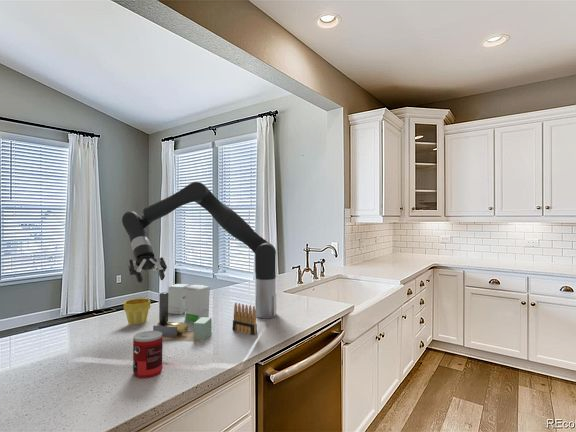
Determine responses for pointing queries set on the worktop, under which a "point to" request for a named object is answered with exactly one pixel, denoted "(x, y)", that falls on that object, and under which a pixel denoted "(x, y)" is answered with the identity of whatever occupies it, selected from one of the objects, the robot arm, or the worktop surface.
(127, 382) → the worktop surface
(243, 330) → the ammunition clip
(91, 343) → the worktop surface
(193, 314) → the skincare box
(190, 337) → the oak board
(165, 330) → the grey bolt guide channel
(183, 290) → the supplement box
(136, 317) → the plant pot
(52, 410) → the worktop surface
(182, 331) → the slide bolt
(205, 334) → the socket block
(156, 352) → the canned food
